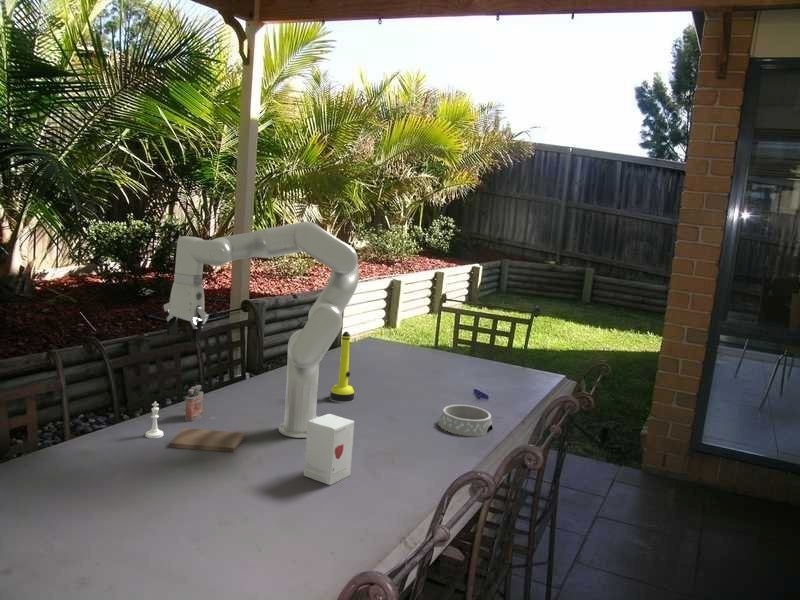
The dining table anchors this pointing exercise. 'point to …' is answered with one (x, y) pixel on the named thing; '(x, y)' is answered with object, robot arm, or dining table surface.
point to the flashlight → (343, 375)
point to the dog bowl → (465, 420)
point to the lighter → (194, 404)
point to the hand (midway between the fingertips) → (183, 338)
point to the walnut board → (207, 440)
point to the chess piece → (154, 424)
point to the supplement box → (328, 448)
